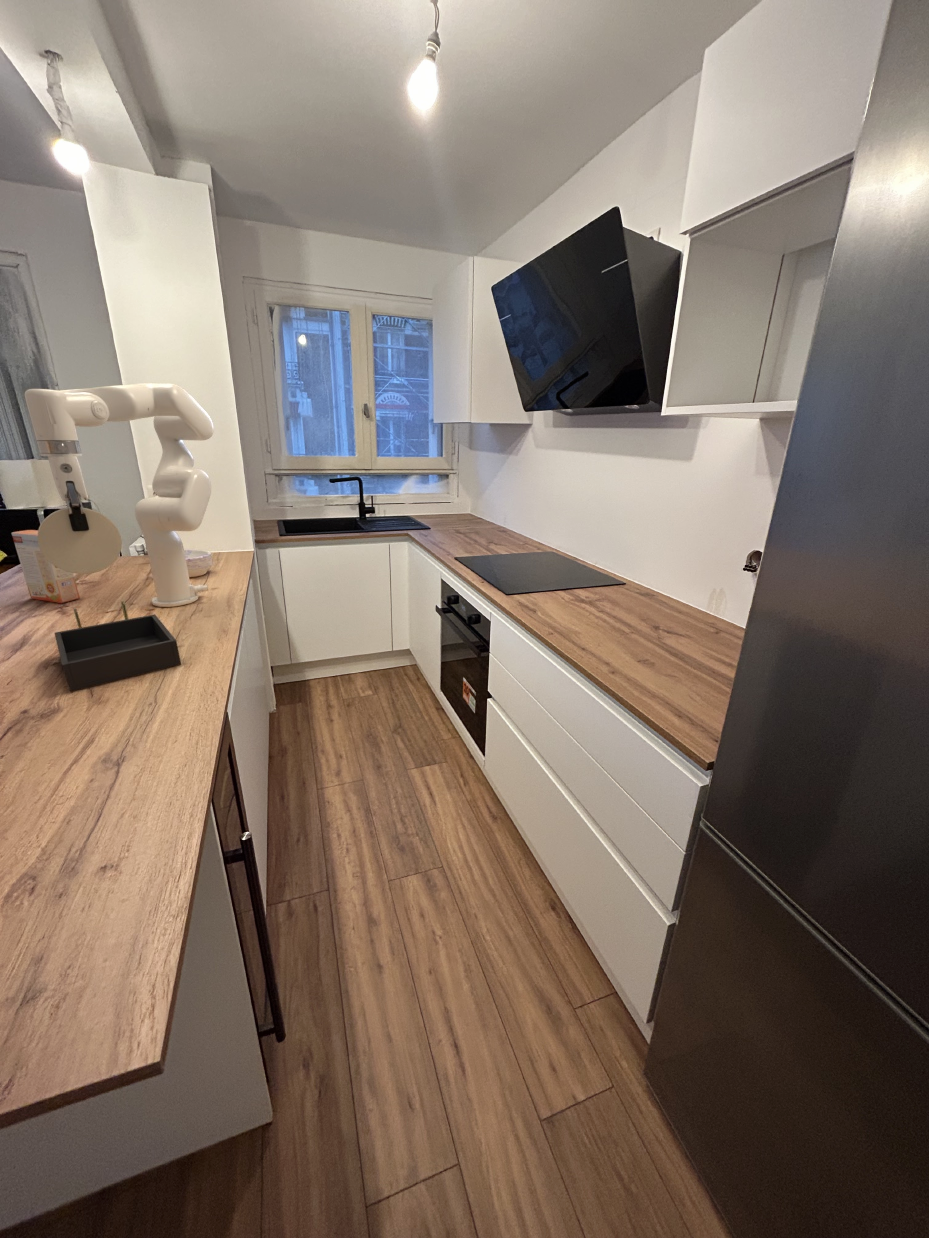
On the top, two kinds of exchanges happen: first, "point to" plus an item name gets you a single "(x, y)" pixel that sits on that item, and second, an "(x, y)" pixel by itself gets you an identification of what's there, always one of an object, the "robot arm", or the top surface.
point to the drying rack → (122, 608)
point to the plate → (79, 542)
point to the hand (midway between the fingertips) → (80, 529)
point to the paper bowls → (198, 562)
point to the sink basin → (115, 651)
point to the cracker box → (43, 571)
